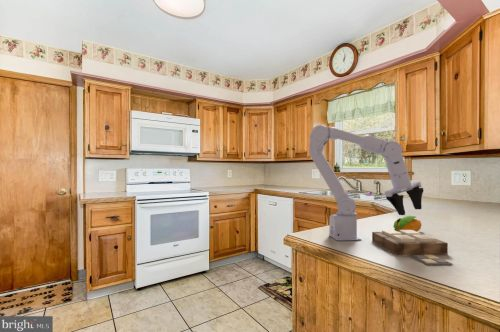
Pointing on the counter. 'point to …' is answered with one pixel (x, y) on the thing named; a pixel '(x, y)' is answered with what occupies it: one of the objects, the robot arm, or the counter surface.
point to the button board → (410, 246)
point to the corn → (407, 224)
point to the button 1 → (390, 233)
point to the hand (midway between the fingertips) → (410, 212)
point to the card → (430, 260)
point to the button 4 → (423, 238)
